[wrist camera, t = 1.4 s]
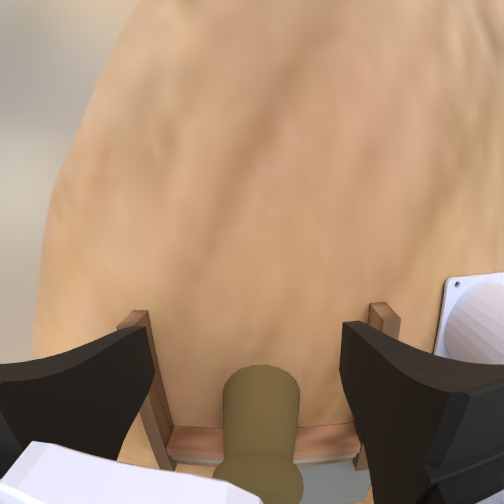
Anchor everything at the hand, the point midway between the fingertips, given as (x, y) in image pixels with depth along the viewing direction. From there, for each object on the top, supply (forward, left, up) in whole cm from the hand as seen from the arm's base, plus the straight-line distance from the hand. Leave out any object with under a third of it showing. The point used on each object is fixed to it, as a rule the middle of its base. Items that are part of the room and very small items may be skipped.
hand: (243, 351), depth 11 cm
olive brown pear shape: (0, +10, -10) cm, 14 cm away
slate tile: (-5, +23, -10) cm, 26 cm away
